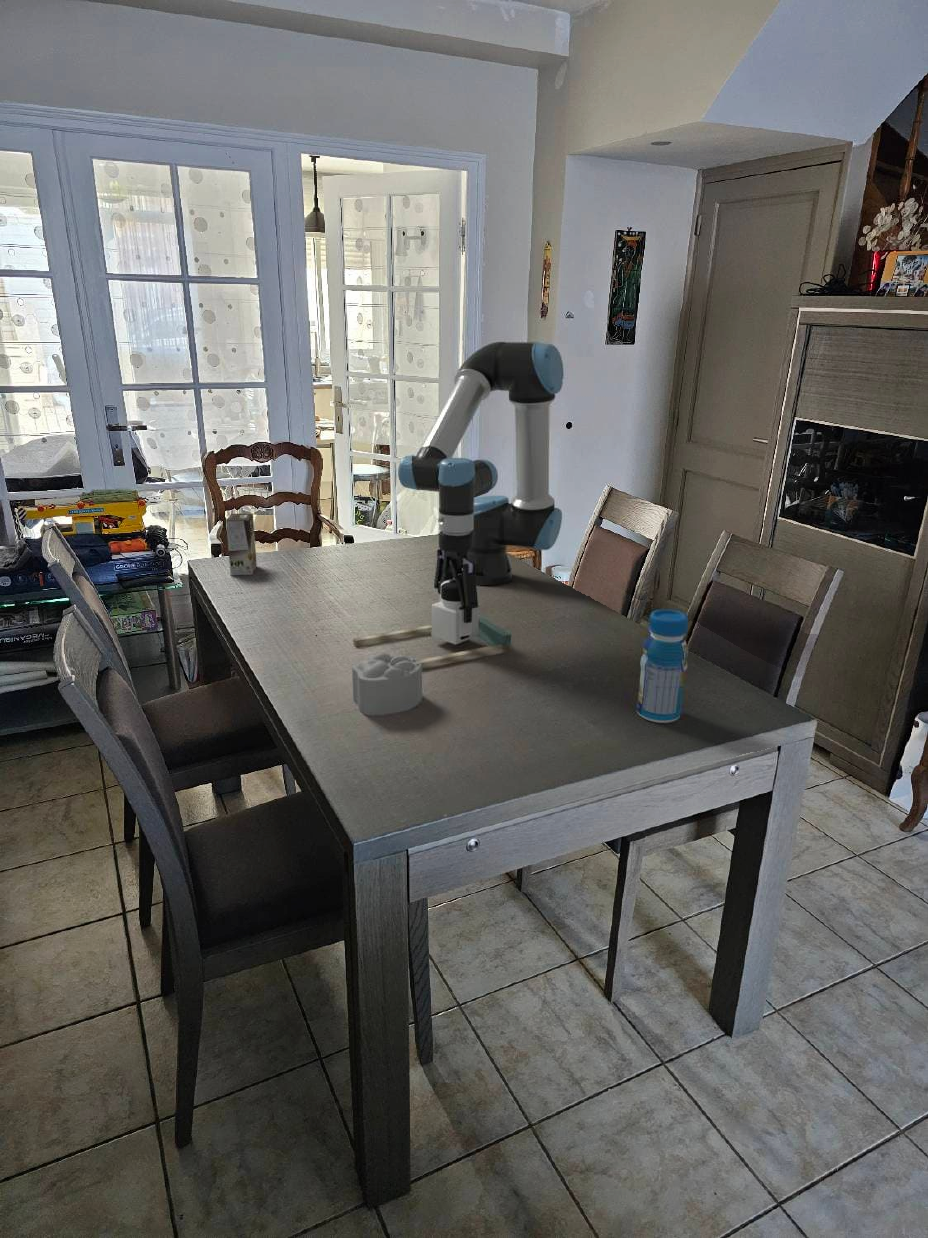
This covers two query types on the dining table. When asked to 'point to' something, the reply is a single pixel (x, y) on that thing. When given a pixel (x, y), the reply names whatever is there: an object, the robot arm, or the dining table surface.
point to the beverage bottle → (663, 667)
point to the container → (451, 615)
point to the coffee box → (241, 544)
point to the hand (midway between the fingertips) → (455, 627)
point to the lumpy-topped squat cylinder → (387, 684)
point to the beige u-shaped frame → (485, 631)
